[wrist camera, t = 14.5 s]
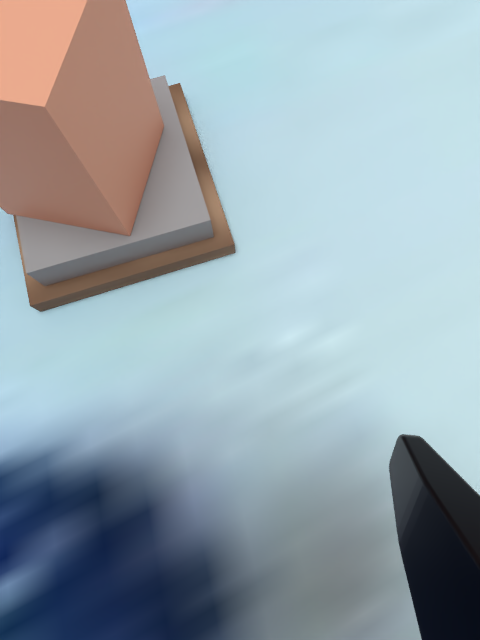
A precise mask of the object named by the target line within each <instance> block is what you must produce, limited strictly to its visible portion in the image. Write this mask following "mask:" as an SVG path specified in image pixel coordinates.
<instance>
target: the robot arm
mask: <svg viewBox="0 0 480 640" xmlns="http://www.w3.org/2000/svg"><path fill="white" fill-rule="evenodd" d="M389 472H390V480H391V488H392V496H393V504H394V511H395V519H396V527H397V534H398V541H399V546H400V551H401V555H402V560H403V564H404V568H405V572H406V576H407V580H408V584H409V588H410V592H411V597H412V601H413V605H414V609H415V613H416V617H417V621H418V625H419V630H420V634H421V638H422V640H480V495H479V494H478V493H477V492H476V491H475V490H474V489H473V488H472V487H471V486H470V485H469V484H468V483H467V482H466V481H465V480H464V479H463V478H462V477H461V476H460V475H459V474H458V473H457V472H456V471H455V470H454V469H453V468H452V467H451V466H450V465H449V464H448V463H447V462H446V461H445V460H444V459H443V458H442V457H441V456H440V455H439V454H438V453H437V452H436V451H435V450H434V449H433V448H432V447H431V446H430V445H429V444H428V443H427V442H426V441H425V440H424V439H423V438H421V437H420V436H415V435H405V434H402V435H400V436H399V437H398V439H397V441H396V444H395V447H394V450H393V453H392V456H391V459H390V464H389Z"/></svg>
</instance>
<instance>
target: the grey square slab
mask: <svg viewBox="0 0 480 640" xmlns="http://www.w3.org/2000/svg"><path fill="white" fill-rule="evenodd" d="M150 82H151V85H152V88H153V91H154V94H155V98H156V101H157V104H158V107H159V111H160V114H161V117H162V120H163V123H164V128H163V131H162V135H161V138H160V141H159V144H158V148H157V151H156V154H155V157H154V161H153V164H152V167H151V170H150V173H149V177H148V180H147V183H146V186H145V190H144V193H143V196H142V199H141V202H140V206H139V209H138V212H137V215H136V219H135V222H134V225H133V228H132V232H131V235H130V236H127V235H121V234H116V233H110V232H105V231H99V230H94V229H89V228H83V227H78V226H72V225H67V224H61V223H56V222H50V221H45V220H40V219H34V218H29V217H23V216H18V215H16V218H17V224H18V230H19V235H20V241H21V247H22V252H23V258H24V264H25V269H26V273H27V274H28V275H29V276H31V277H32V278H34V279H35V280H37V281H38V282H39V283H41V284H42V285H44V286H47V285H51V284H54V283H58V282H61V281H65V280H68V279H72V278H75V277H78V276H82V275H85V274H89V273H92V272H96V271H99V270H102V269H106V268H109V267H113V266H116V265H120V264H123V263H127V262H130V261H133V260H137V259H140V258H144V257H147V256H151V255H154V254H158V253H161V252H164V251H168V250H171V249H175V248H178V247H182V246H185V245H189V244H192V243H195V242H199V241H202V240H206V239H209V238H213V237H214V234H213V229H212V225H211V220H210V217H209V213H208V210H207V207H206V204H205V201H204V198H203V194H202V191H201V188H200V185H199V182H198V179H197V176H196V172H195V169H194V166H193V163H192V160H191V157H190V153H189V150H188V147H187V144H186V141H185V138H184V134H183V131H182V128H181V125H180V122H179V119H178V115H177V112H176V109H175V106H174V103H173V100H172V96H171V93H170V90H169V87H168V84H167V81H166V78H165V75H164V76H160V77H157V78H153V79H150Z"/></svg>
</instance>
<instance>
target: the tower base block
mask: <svg viewBox="0 0 480 640" xmlns="http://www.w3.org/2000/svg"><path fill="white" fill-rule="evenodd" d="M168 87H169V90H170V93H171V96H172V100H173V103H174V106H175V109H176V112H177V115H178V119H179V122H180V125H181V128H182V131H183V134H184V138H185V141H186V144H187V147H188V150H189V153H190V157H191V160H192V163H193V166H194V169H195V172H196V176H197V179H198V182H199V185H200V188H201V191H202V194H203V198H204V201H205V204H206V207H207V210H208V213H209V217H210V220H211V225H212V229H213V234H214V237H213V238H209V239H206V240H202V241H199V242H195V243H192V244H189V245H185V246H182V247H178V248H175V249H171V250H168V251H164V252H161V253H158V254H154V255H151V256H147V257H144V258H140V259H137V260H133V261H130V262H127V263H123V264H120V265H116V266H113V267H109V268H106V269H102V270H99V271H96V272H92V273H89V274H85V275H82V276H78V277H75V278H72V279H68V280H65V281H61V282H58V283H54V284H51V285H47V286H44V285H42V284H41V283H39V282H38V281H37V280H35V279H34V278H32V277H31V276H29V275H28V274H27V273H26V269H25V264H24V258H23V252H22V247H21V241H20V235H19V230H18V224H17V218H16V215H13V216H14V222H15V227H16V232H17V238H18V243H19V249H20V254H21V259H22V265H23V270H24V276H25V281H26V287H27V292H28V297H29V303H30V306H31V307H33V308H35V309H37V310H38V311H40V312H41V311H45V310H48V309H51V308H55V307H58V306H61V305H64V304H68V303H71V302H74V301H78V300H81V299H84V298H88V297H91V296H94V295H97V294H101V293H104V292H107V291H111V290H114V289H117V288H121V287H124V286H127V285H130V284H134V283H137V282H140V281H144V280H147V279H150V278H154V277H157V276H160V275H163V274H167V273H170V272H173V271H177V270H180V269H183V268H187V267H190V266H193V265H196V264H200V263H203V262H206V261H210V260H213V259H216V258H220V257H223V256H226V255H229V254H233V253H235V245H234V241H233V238H232V236H231V233H230V230H229V227H228V224H227V221H226V218H225V215H224V212H223V209H222V206H221V203H220V200H219V197H218V194H217V191H216V188H215V185H214V182H213V179H212V176H211V173H210V171H209V168H208V165H207V162H206V159H205V156H204V153H203V150H202V147H201V144H200V141H199V138H198V135H197V132H196V129H195V126H194V123H193V120H192V117H191V114H190V111H189V109H188V106H187V103H186V100H185V97H184V94H183V91H182V88H181V85H180V83H178V84H175V85H171V86H168Z"/></svg>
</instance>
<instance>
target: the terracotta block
mask: <svg viewBox="0 0 480 640" xmlns="http://www.w3.org/2000/svg"><path fill="white" fill-rule="evenodd" d="M163 128H164V123H163V120H162V117H161V114H160V111H159V107H158V104H157V101H156V98H155V94H154V91H153V88H152V85H151V82H150V78H149V75H148V72H147V69H146V65H145V62H144V59H143V56H142V52H141V49H140V46H139V43H138V40H137V36H136V33H135V30H134V27H133V23H132V20H131V17H130V14H129V10H128V7H127V4H126V1H125V0H0V207H1V208H2V209H3V210H4V211H5V212H6V213H8V214H12V215H18V216H23V217H29V218H34V219H40V220H45V221H50V222H56V223H61V224H67V225H72V226H78V227H83V228H89V229H94V230H99V231H105V232H110V233H116V234H121V235H127V236H130V235H131V232H132V228H133V225H134V222H135V219H136V215H137V212H138V209H139V206H140V202H141V199H142V196H143V193H144V190H145V186H146V183H147V180H148V177H149V173H150V170H151V167H152V164H153V161H154V157H155V154H156V151H157V148H158V144H159V141H160V138H161V135H162V131H163Z"/></svg>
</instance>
